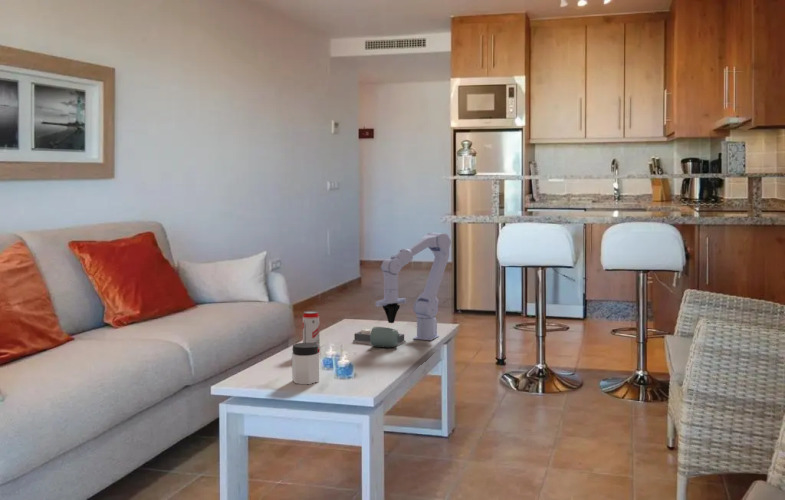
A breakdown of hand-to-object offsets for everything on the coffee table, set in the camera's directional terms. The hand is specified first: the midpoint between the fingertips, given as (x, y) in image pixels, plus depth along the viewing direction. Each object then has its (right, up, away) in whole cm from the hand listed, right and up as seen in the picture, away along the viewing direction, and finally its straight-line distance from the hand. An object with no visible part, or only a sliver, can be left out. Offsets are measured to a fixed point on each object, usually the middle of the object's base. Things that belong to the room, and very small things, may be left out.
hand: (391, 322), depth 314 cm
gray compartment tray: (-5, -8, +3) cm, 10 cm away
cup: (+3, -5, -9) cm, 11 cm away
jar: (-28, -14, -59) cm, 67 cm away
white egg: (-10, -6, +5) cm, 13 cm away
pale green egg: (+1, -6, 0) cm, 6 cm away
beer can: (-30, -10, -19) cm, 37 cm away
